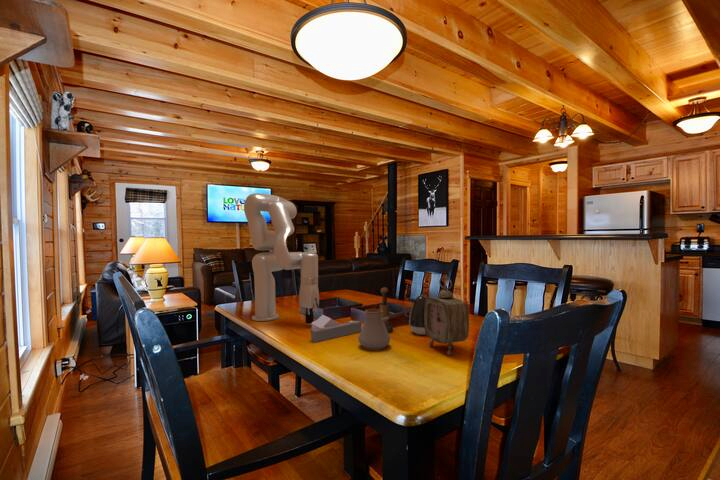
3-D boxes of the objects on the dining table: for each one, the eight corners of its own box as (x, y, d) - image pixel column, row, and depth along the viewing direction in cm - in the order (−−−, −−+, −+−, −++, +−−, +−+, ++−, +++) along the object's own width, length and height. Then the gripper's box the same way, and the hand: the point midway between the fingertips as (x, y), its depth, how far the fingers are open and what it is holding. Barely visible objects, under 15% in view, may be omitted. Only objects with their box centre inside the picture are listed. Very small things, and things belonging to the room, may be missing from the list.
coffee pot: (351, 346, 124) (350, 304, 124) (373, 339, 132) (373, 300, 132) (398, 361, 109) (397, 313, 109) (419, 352, 117) (419, 308, 117)
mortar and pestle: (374, 332, 142) (374, 288, 142) (379, 328, 148) (379, 285, 148) (390, 333, 139) (389, 288, 139) (394, 329, 145) (394, 286, 145)
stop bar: (311, 340, 131) (310, 328, 131) (356, 330, 145) (356, 319, 145) (315, 342, 129) (315, 330, 129) (361, 331, 143) (361, 320, 143)
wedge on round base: (341, 333, 140) (328, 326, 152) (341, 317, 140) (327, 311, 152) (320, 337, 136) (308, 329, 147) (320, 320, 136) (308, 313, 147)
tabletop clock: (424, 345, 125) (423, 275, 124) (445, 342, 128) (444, 274, 128) (448, 358, 111) (448, 280, 111) (471, 354, 115) (471, 278, 114)
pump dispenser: (404, 331, 143) (404, 294, 143) (427, 328, 146) (426, 292, 146) (415, 337, 134) (415, 298, 133) (439, 335, 137) (439, 296, 137)
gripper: (293, 280, 156) (293, 320, 157) (310, 284, 145) (310, 328, 145) (308, 278, 161) (308, 318, 161) (325, 282, 149) (326, 325, 150)
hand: (309, 322), depth 153 cm, fingers closed
